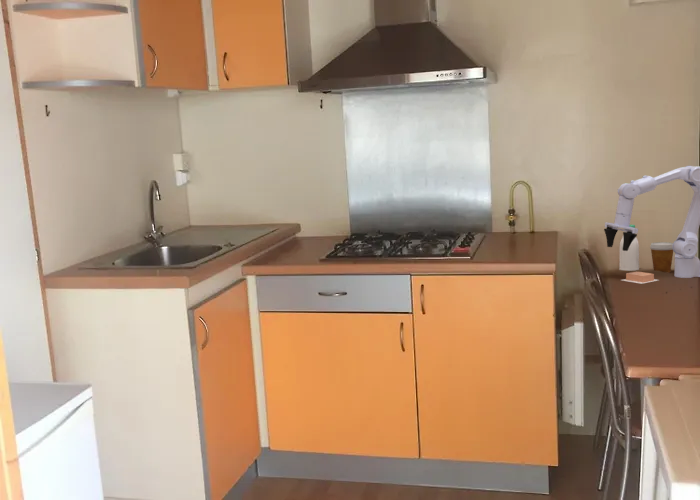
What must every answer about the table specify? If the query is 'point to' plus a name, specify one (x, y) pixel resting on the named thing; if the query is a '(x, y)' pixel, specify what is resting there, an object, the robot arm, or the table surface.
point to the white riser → (638, 282)
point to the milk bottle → (629, 255)
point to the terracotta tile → (639, 276)
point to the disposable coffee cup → (662, 256)
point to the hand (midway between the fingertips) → (617, 248)
